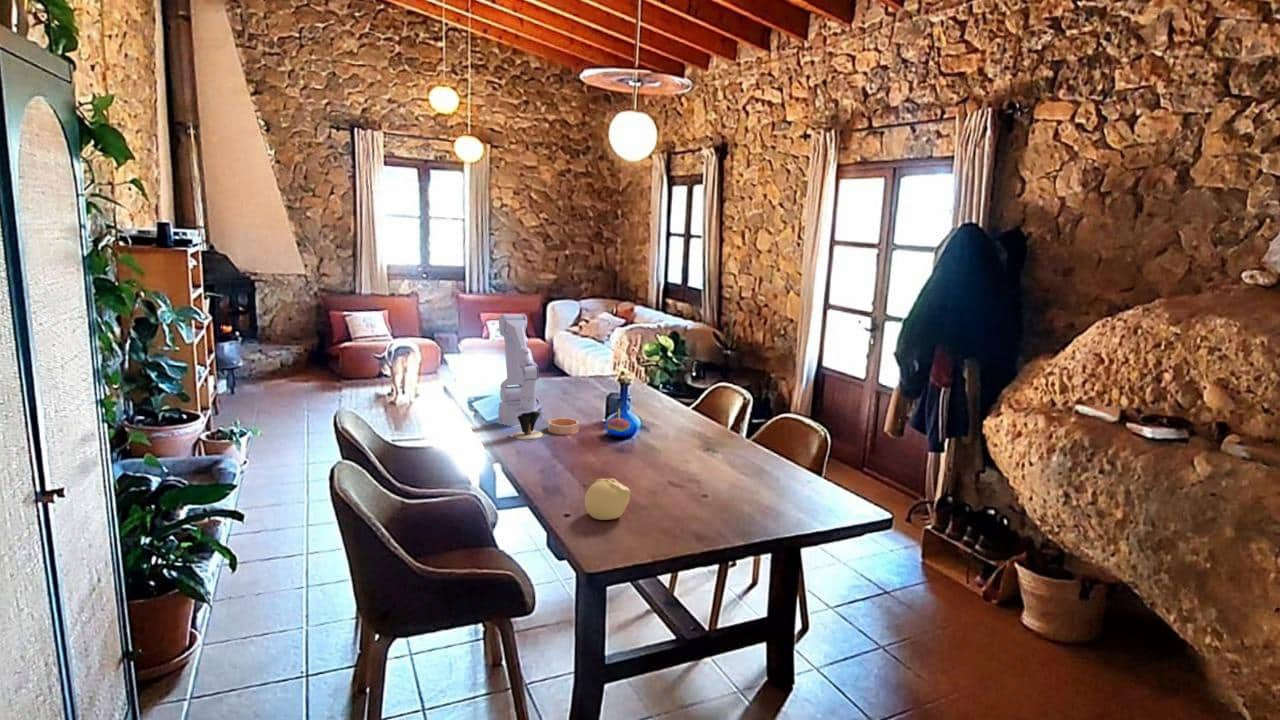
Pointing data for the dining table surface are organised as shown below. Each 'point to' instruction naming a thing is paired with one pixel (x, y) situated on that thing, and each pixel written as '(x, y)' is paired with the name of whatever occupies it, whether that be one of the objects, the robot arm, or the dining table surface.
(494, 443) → the dining table surface
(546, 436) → the mat
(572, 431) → the octagonal bowl
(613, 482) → the butter
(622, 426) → the cupcake
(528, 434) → the lid
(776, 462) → the dining table surface
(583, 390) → the dining table surface
